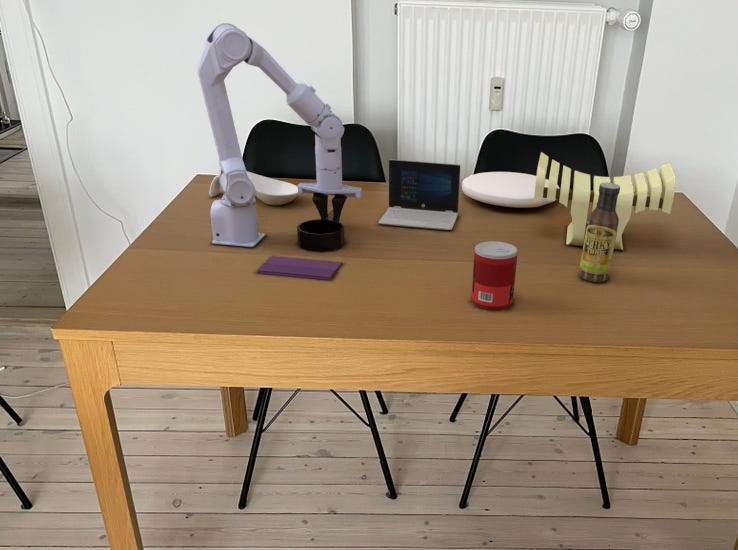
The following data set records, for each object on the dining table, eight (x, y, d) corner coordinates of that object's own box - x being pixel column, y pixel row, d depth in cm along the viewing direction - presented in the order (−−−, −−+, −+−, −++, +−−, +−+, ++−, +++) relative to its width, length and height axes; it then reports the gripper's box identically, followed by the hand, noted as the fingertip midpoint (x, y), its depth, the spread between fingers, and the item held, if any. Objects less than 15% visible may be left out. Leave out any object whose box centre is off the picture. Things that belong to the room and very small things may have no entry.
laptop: (377, 225, 176) (377, 171, 169) (388, 209, 187) (388, 158, 180) (451, 232, 174) (454, 178, 168) (458, 215, 185) (460, 164, 179)
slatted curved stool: (529, 245, 168) (537, 168, 160) (533, 223, 182) (541, 151, 173) (661, 258, 165) (677, 180, 156) (655, 235, 178) (669, 162, 170)
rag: (257, 273, 147) (257, 270, 147) (273, 257, 155) (272, 254, 155) (329, 280, 146) (329, 277, 146) (341, 263, 154) (341, 261, 153)
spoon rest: (307, 197, 193) (305, 170, 189) (291, 211, 183) (289, 182, 179) (222, 189, 196) (219, 163, 192) (202, 202, 186) (198, 174, 182)
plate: (471, 164, 211) (563, 174, 207) (470, 187, 214) (560, 197, 210) (453, 179, 186) (558, 190, 182) (452, 205, 188) (555, 216, 184)
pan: (337, 253, 159) (336, 235, 157) (292, 249, 160) (291, 231, 158) (356, 227, 174) (356, 211, 172) (316, 224, 175) (315, 208, 173)
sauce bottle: (575, 280, 151) (588, 185, 142) (582, 270, 156) (595, 178, 147) (605, 286, 149) (621, 190, 139) (612, 276, 154) (627, 183, 145)
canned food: (518, 308, 138) (523, 254, 133) (478, 312, 136) (482, 257, 130) (504, 292, 144) (509, 239, 139) (466, 295, 142) (469, 242, 137)
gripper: (364, 165, 166) (365, 222, 173) (303, 160, 167) (306, 217, 174) (357, 173, 160) (358, 232, 166) (293, 168, 161) (296, 226, 168)
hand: (331, 225), depth 170 cm, fingers closed on pan, 2 cm apart
